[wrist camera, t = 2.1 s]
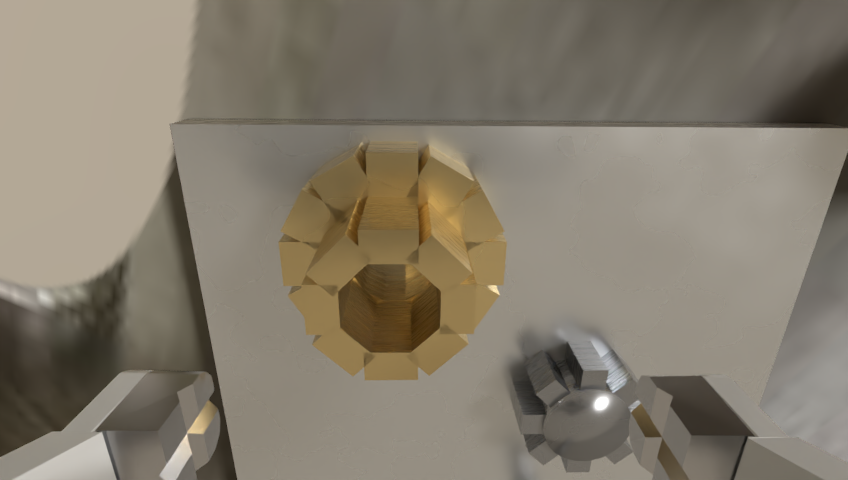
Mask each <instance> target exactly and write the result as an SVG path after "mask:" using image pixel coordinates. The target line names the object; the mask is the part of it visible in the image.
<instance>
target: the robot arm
mask: <svg viewBox="0 0 848 480" xmlns="http://www.w3.org/2000/svg"><path fill="white" fill-rule="evenodd" d="M214 390H215V389H214V385H213V381H212V376H211V375H210V374H208V373H207V372H203V371H170V370H154V371H152V370H127V371H124V372H120V373H119V374H118V375H117V376H116V377H115V378H114V379H113V380H112V381H111V382H110V383H109V384H108V385H107V386H106V387H105V388H104V389H103V390H102V391H101V392H100V393H99V394H98V395H97V396H96V397H95V398H94V399H93V400H92V401H91V402H90V403H89V404H88V405H87V406H86V407H85V408H84V409H83V410H82V411H81V412H80V413H79V414H78V415H77V416H76V417H75V418H74V419H73V420H72V421H71V422H70V423H69V424H68V425H67V426H66V427H65V428H64V429H63V430H62V431H61V432H50V433H48V434H46V435H44V436H42V437H40V438H38V439H36V440H34V441H32V442H30V443H28V444H26V445H24V446H22V447H20V448H18V449H16V450H14V451H12V452H10V453H8V454H6V455H4V456H2V457H0V480H197V476H196V470H198V469H199V468H201V467H202V466H203V465H205V464H206V463H207V462H209V461H210V459H211V457H212V455H213V453H214V451H215V449H216V446H217V442H218V438H219V434H220V416H219V410H218V408H217V407H216V406H215V405H214V404H213V403H212V402H211V401H210V400H209V398H210V397H211V395H212V393H213V392H214ZM635 394H636V396H637V397H638V399H639V401H640V402H641V403H640V404H639V405H638V406H637V407H636V408H635V409H634V410H633V411H632V412H631V415H630V421H629V436H630V443H631V446H632V450H633V453H634V455H635V457H636V459H637V461H638V463H639V465H640V466H642V467H643V468H644V469H646V470H647V471H649V472H650V473H651V474H653V478H652V480H848V463H847V462H845V461H843V460H841V459H839V458H837V457H835V456H833V455H831V454H829V453H827V452H826V451H824V450H822V449H820V448H818V447H816V446H814V445H812V444H810V443H808V442H806V441H804V440H802V439H800V438H798V437H788V436H787V435H786V434H785V433H784V432H783V431H782V430H781V429H780V428H779V427H778V426H777V425H776V424H775V423H774V422H773V421H772V420H771V418H770V417H769V416H768V415H767V414H766V413H765V412H764V411H763V410H762V409H761V408H760V407H759V406H758V405H757V404H756V403H755V402H754V401H753V400H752V399H751V398H750V397H749V396H748V395H747V394H746V393H745V392H744V391H743V390H742V389H741V388H740V387H739V386H738V385H737V384H736V383H735V382H734V381H733V380H732V379H731V378H730V377H728V376H726V375H724V374H700V375H694V376H672V375H641V377H640V379H639V380H638V382H637V386H636V390H635Z"/></svg>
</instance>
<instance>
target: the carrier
mask: <svg viewBox="0 0 848 480" xmlns="http://www.w3.org/2000/svg"><path fill="white" fill-rule="evenodd" d="M170 128H171V134H172V139H173V144H174V150H175V155H176V160H177V165H178V171H179V176H180V181H181V186H182V192H183V197H184V202H185V207H186V213H187V218H188V223H189V228H190V234H191V239H192V244H193V249H194V255H195V260H196V265H197V270H198V276H199V281H200V286H201V291H202V297H203V302H204V307H205V312H206V318H207V323H208V328H209V333H210V339H211V344H212V349H213V354H214V360H215V365H216V370H217V375H218V381H219V386H220V391H221V396H222V402H223V407H224V412H225V417H226V423H227V428H228V433H229V438H230V444H231V449H232V454H233V459H234V465H235V470H236V475H237V480H652V478H653V474H651V473H650V472H649V471H647V470H646V469H644V468H643V467H642V466H640V465H639V463H638V461H637V459H636V457H635V455H634V453H633V450H632V446H631V443H630V436H629V421H630V415H631V412H632V411H633V410H634V409H635V408H636V407H637V406H638V405H639V404H640V403H641V402H640V401H639V399H638V397H637V396H636V394H635V390H636V386H637V382H638V380H639V379H640V377H641V375H672V376H694V375H700V374H724V375H726V376H728V377H730V378H731V379H732V380H733V381H734V382H735V383H736V384H737V385H738V386H739V387H740V388H741V389H742V390H743V391H744V392H745V393H746V394H747V395H748V396H749V397H750V398H751V399H752V400H753V401H754V402H755V403H756V404H757V405H758V406H759V404H760V401H761V398H762V395H763V393H764V390H765V387H766V384H767V381H768V378H769V375H770V373H771V370H772V367H773V364H774V361H775V358H776V355H777V353H778V350H779V347H780V344H781V341H782V338H783V335H784V333H785V330H786V327H787V324H788V321H789V318H790V315H791V313H792V310H793V307H794V304H795V301H796V298H797V295H798V293H799V290H800V287H801V284H802V281H803V278H804V275H805V273H806V270H807V267H808V264H809V261H810V258H811V255H812V253H813V250H814V247H815V244H816V241H817V238H818V235H819V233H820V230H821V227H822V224H823V221H824V218H825V215H826V213H827V210H828V207H829V204H830V201H831V198H832V195H833V193H834V190H835V187H836V184H837V181H838V178H839V175H840V173H841V170H842V167H843V164H844V161H845V158H846V155H847V153H848V127H845V126H839V125H833V124H827V123H711V122H556V121H402V120H247V119H186V120H182V121H179V122H175V123H172V124H170ZM371 141H408V142H418V162H419V160H420V158H421V156H422V155H423V153H424V151H425V150H426V148H427V146H428V145H430V146H432V147H433V148H435V149H437V150H439V151H440V152H442V153H444V154H445V155H447V156H449V157H450V158H452V159H454V160H456V161H457V162H459V163H461V164H462V165H464V166H466V167H467V168H468V169H469V171H470V173H471V175H472V177H473V176H476V178H477V180H478V182H479V184H480V186H481V187H482V189H483V191H484V193H485V195H486V197H487V199H488V200H489V202H490V204H491V206H492V208H493V210H494V212H495V214H496V216H497V217H498V219H499V221H500V223H501V225H502V227H503V229H504V231H505V232H503V235H504V237H505V239H506V241H507V249H506V261H505V273H504V285H496V286H497V289H498V292H499V294H500V295H499V297H498V298H497V300H496V301H495V302H494V304H493V305H492V306H491V308H490V309H489V311H488V312H487V313H486V315H485V316H484V317H483V319H482V320H481V321H480V323H479V324H478V326H477V327H476V328H475V329H474V334H467V338H468V343H469V344H468V345H467V346H465V347H464V348H463V349H462V350H461V351H459V352H458V353H457V354H456V355H454V356H453V357H452V358H451V359H450V360H448V361H447V362H446V363H445V364H443V365H442V366H441V367H440V368H438V369H437V370H436V371H435V372H434V373H432V374H431V375H430V376H429V375H427V374H426V373H425V372H424V371H423V370H421V369H420V368H419V367H418V380H365V376H364V368H363V369H361V370H360V371H359V372H358V373H357V374H356V375H354V376H352V375H350V374H349V373H348V372H346V371H345V370H344V369H343V368H341V367H340V366H339V365H337V364H336V363H335V362H334V361H332V360H331V359H330V358H328V357H327V356H326V355H324V354H323V353H322V352H321V351H319V350H318V349H317V348H315V347H314V346H313V345H312V343H313V341H314V338H315V335H306V329H305V319H304V316H303V315H302V314H301V312H300V311H299V310H298V309H297V307H296V306H295V305H294V303H293V302H292V301H291V300H290V298H289V297H288V294H289V292H290V290H291V288H292V286H283V278H282V269H281V260H280V252H279V243H278V242H279V241H280V239H281V238H282V236H283V235H284V233H283V232H281V229H282V227H283V225H284V223H285V221H286V219H287V217H288V215H289V213H290V211H291V209H292V207H293V205H294V203H295V201H296V200H297V198H298V196H299V194H300V192H301V190H302V188H303V187H304V186H305V185H306V184H307V182H308V181H309V180H310V179H311V177H312V176H313V175H315V174H316V173H317V171H318V170H319V169H320V168H321V167H322V166H324V165H325V164H327V163H329V162H330V161H332V160H334V159H336V158H337V157H339V156H341V155H342V154H344V153H346V152H347V151H349V150H351V149H353V148H354V147H356V146H358V145H359V144H360V145H361V147H362V148H363V150H364V152H365V153H366V150H367V148H368V146H369V144H370V142H371ZM367 265H368V266H369V267H370V268H371V269H373V270H375V271H377V272H379V273H381V274H383V275H385V276H407V275H409V274H411V273H413V272H415V271H416V270H417V269H416V268H415V267H413V266H412V265H411V264H367Z"/></svg>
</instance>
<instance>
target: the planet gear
mask: <svg viewBox="0 0 848 480" xmlns="http://www.w3.org/2000/svg"><path fill="white" fill-rule="evenodd" d="M281 232H283V233H284V235H283V236H282V238H281V239H280V241H279V242H278V243H279V252H280V260H281V269H282V278H283V286H292V288H291V290H290V292H289V294H288V297H289V298H290V300H291V301H292V302H293V303H294V305H295V306H296V307H297V309H298V310H299V311H300V312H301V314H302V315H303V316H304V319H305V329H306V335H315V338H314V341H313V343H312V345H313V346H314V347H315V348H317V349H318V350H319V351H321V352H322V353H323V354H324V355H326V356H327V357H328V358H330V359H331V360H332V361H334V362H335V363H336V364H337V365H339V366H340V367H341V368H343V369H344V370H345V371H346V372H348V373H349V374H350V375H352V376H354V375H356V374H357V373H358V372H359V371H360V370H361V369H363V368H364V376H365V380H418V367H419V368H420V369H421V370H423V371H424V372H425V373H426V374H427V375H429V376H430V375H431V374H432V373H434V372H435V371H436V370H437V369H438V368H440V367H441V366H442V365H443V364H445V363H446V362H447V361H448V360H450V359H451V358H452V357H453V356H454V355H456V354H457V353H458V352H459V351H461V350H462V349H463V348H464V347H465V346H467V345H468V344H469V343H468V338H467V334H474V329H475V328H476V327H477V326H478V324H479V323H480V321H481V320H482V319H483V317H484V316H485V315H486V313H487V312H488V311H489V309H490V308H491V306H492V305H493V304H494V302H495V301H496V300H497V298H498V297H499V295H500V294H499V292H498V289H497V286H496V285H504V273H505V261H506V249H507V241H506V239H505V237H504V235H503V232H505V231H504V229H503V227H502V225H501V223H500V221H499V219H498V217H497V216H496V214H495V212H494V210H493V208H492V206H491V204H490V202H489V200H488V199H487V197H486V195H485V193H484V191H483V189H482V187H481V186H480V184H479V182H478V180H477V178H476V176H473V177H472V175H471V173H470V171H469V169H468V168H467V167H466V166H464V165H462V164H461V163H459V162H457V161H456V160H454V159H452V158H450V157H449V156H447V155H445V154H444V153H442V152H440V151H439V150H437V149H435V148H433V147H432V146H430V145H428V146H427V148H426V150H425V151H424V153H423V155H422V156H421V158H420V160H419V162H418V142H408V141H371V142H370V144H369V146H368V148H367V150H366V153H365V152H364V150H363V148H362V147H361V145H360V144H359V145H358V146H356V147H354V148H353V149H351V150H349V151H347V152H346V153H344V154H342V155H341V156H339V157H337V158H336V159H334V160H332V161H330V162H329V163H327V164H325V165H324V166H322V167H321V168H320V169H319V170H318V171H317V173H316V174H315V175H313V176H312V177H311V179H310V180H309V181H308V182H307V184H306V185H305V186H304V187H303V188H302V190H301V192H300V194H299V196H298V198H297V200H296V201H295V203H294V205H293V207H292V209H291V211H290V213H289V215H288V217H287V219H286V221H285V223H284V225H283V227H282V229H281ZM367 264H411V265H412V266H413V267H415V268H416V269H417V270H416V271H415V272H413V273H411V274H409V275H407V276H385V275H383V274H381V273H379V272H377V271H375V270H373V269H371V268H370V267H369V266H368V265H367Z"/></svg>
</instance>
